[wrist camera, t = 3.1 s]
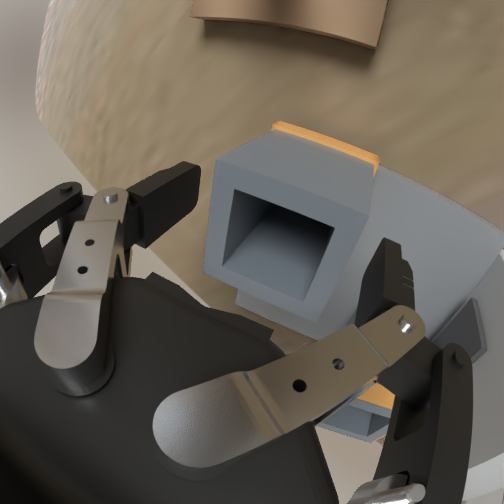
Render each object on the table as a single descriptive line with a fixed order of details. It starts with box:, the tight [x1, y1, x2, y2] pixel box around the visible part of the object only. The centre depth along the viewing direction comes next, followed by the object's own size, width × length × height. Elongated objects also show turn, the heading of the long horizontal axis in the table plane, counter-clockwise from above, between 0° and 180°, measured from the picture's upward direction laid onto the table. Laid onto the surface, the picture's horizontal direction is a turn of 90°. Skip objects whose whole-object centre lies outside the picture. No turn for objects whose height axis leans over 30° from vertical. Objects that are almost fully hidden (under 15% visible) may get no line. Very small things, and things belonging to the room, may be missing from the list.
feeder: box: [235, 165, 504, 501], centre depth 13 cm, size 23×14×12 cm, turn 78°
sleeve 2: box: [317, 309, 395, 443], centre depth 17 cm, size 5×5×7 cm
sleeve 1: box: [203, 121, 379, 323], centre depth 13 cm, size 5×5×7 cm
